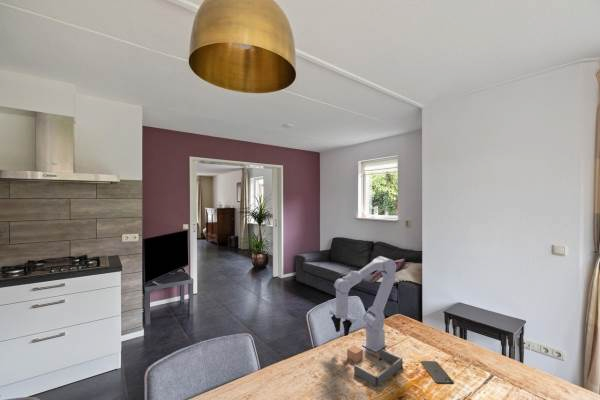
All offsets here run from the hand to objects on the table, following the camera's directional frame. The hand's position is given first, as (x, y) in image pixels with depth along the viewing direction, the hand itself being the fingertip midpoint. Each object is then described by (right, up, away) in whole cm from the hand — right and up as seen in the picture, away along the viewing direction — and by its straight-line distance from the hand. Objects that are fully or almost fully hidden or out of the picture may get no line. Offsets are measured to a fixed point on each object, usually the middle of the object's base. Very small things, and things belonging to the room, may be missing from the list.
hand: (342, 333), depth 129 cm
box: (+13, -8, -15) cm, 22 cm away
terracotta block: (+5, -9, -6) cm, 11 cm away
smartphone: (+37, -9, -16) cm, 41 cm away
